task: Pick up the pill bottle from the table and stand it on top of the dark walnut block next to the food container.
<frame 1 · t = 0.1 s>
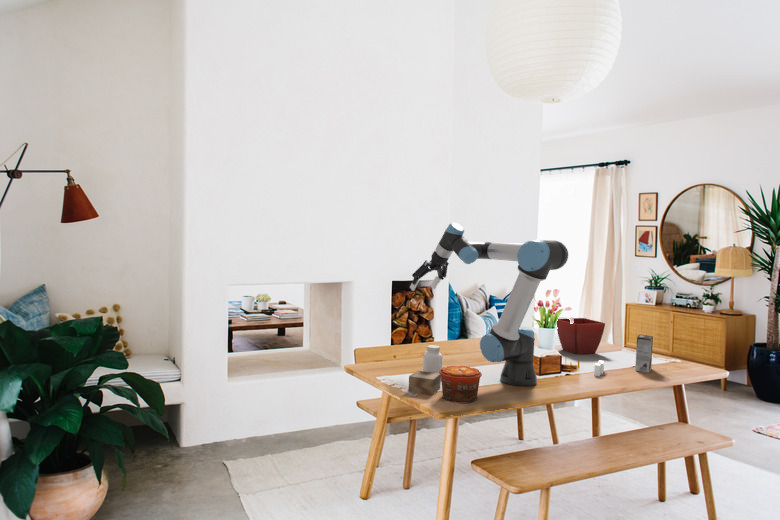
hand: (422, 288, 265), 36 cm above the table, tool tilted 35°, fingers open, 13 cm apart
food container: (459, 398, 212), on the table
walnut block: (424, 389, 222), on the table
plant pot: (578, 351, 305), on the table
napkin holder: (597, 374, 257), on the table
pill bottle: (432, 382, 234), on the table
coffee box: (643, 370, 266), on the table
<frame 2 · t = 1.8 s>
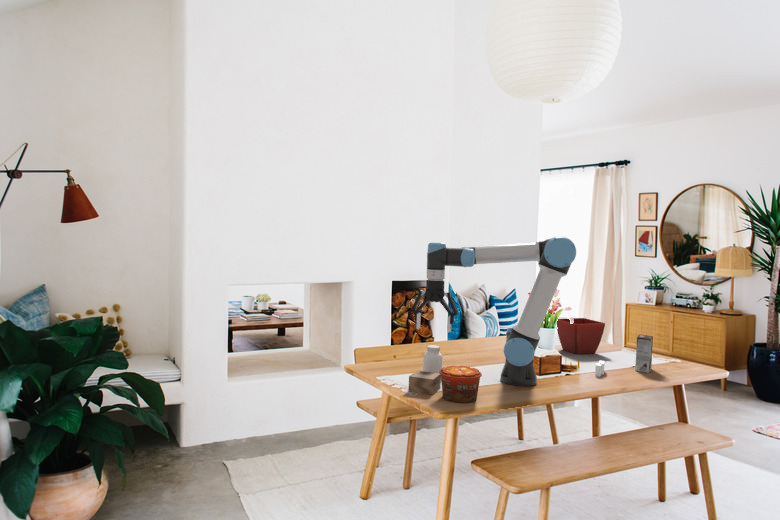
hand: (433, 330, 233), 22 cm above the table, tool pointing down, fingers open, 13 cm apart
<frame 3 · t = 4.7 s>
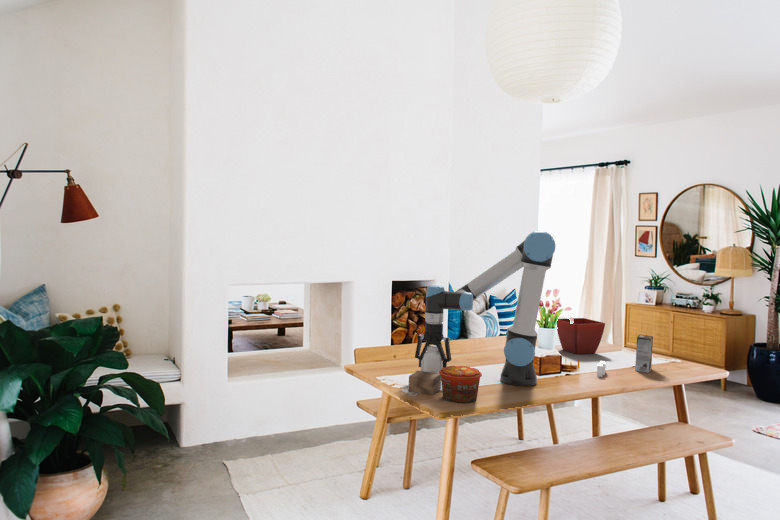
hand: (432, 376, 234), 2 cm above the table, tool pointing down, fingers closed on pill bottle, 8 cm apart
pill bottle: (432, 382, 234), on the table, touching gripper
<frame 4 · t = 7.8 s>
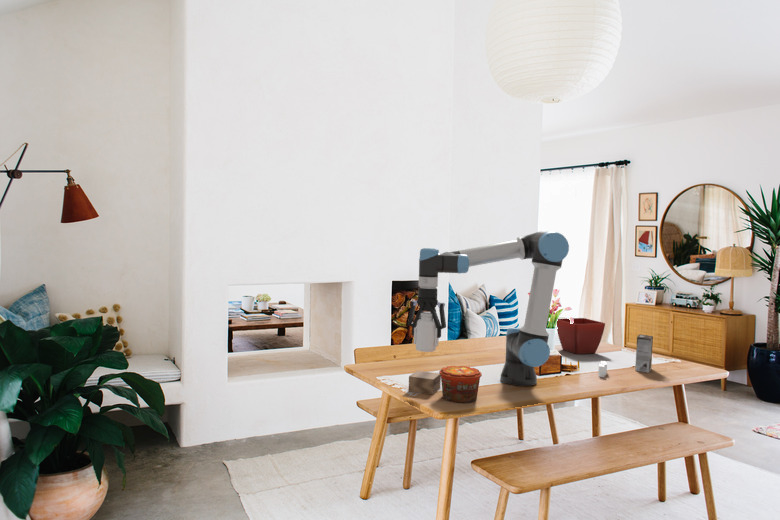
hand: (426, 344, 221), 18 cm above the table, tool pointing down, fingers closed on pill bottle, 8 cm apart
pill bottle: (425, 350, 221), point 16 cm above the table, touching gripper
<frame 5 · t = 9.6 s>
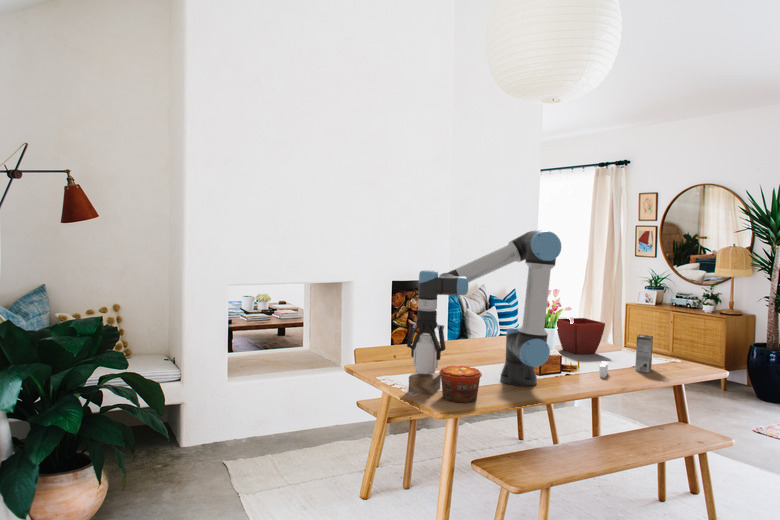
hand: (425, 366, 221), 9 cm above the table, tool pointing down, fingers closed on pill bottle, 8 cm apart
pill bottle: (425, 372, 221), point 7 cm above the table, touching gripper
when the fingers open (9 cm above the table, at t = 11.0 s): pill bottle stays where it is, resting on walnut block.
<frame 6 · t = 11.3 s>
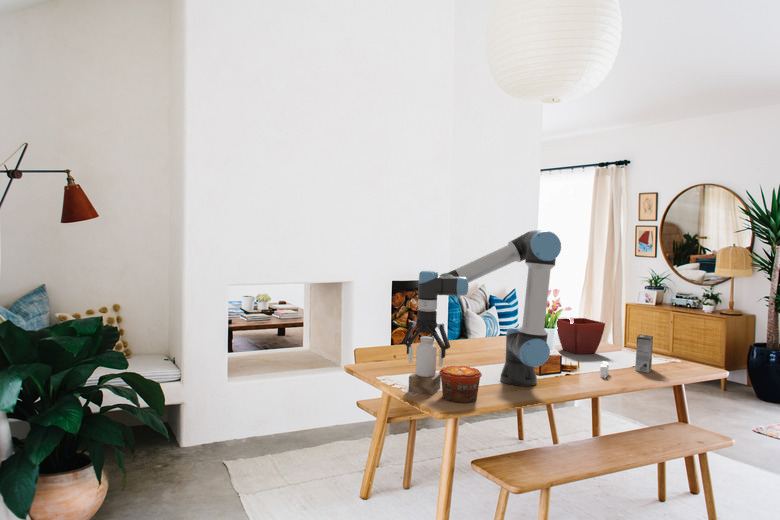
hand: (425, 364, 221), 10 cm above the table, tool pointing down, fingers open, 12 cm apart
pill bottle: (425, 375, 221), point 6 cm above the table, touching walnut block
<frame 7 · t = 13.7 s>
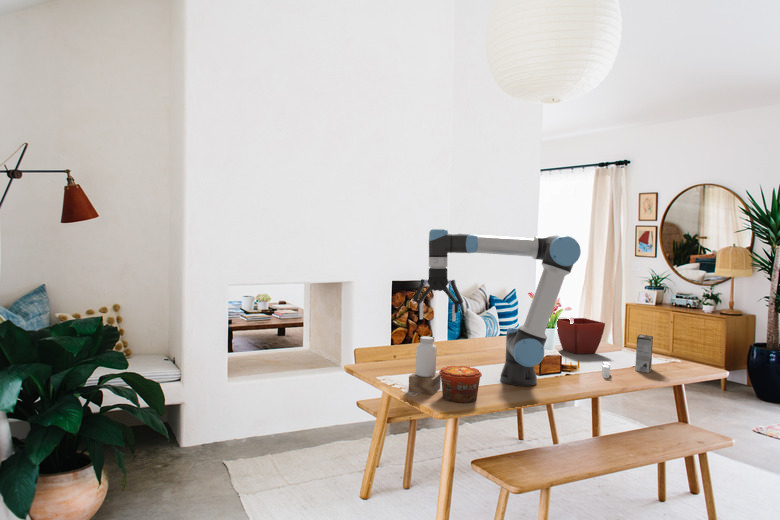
hand: (437, 320, 225), 27 cm above the table, tool pointing down, fingers open, 13 cm apart
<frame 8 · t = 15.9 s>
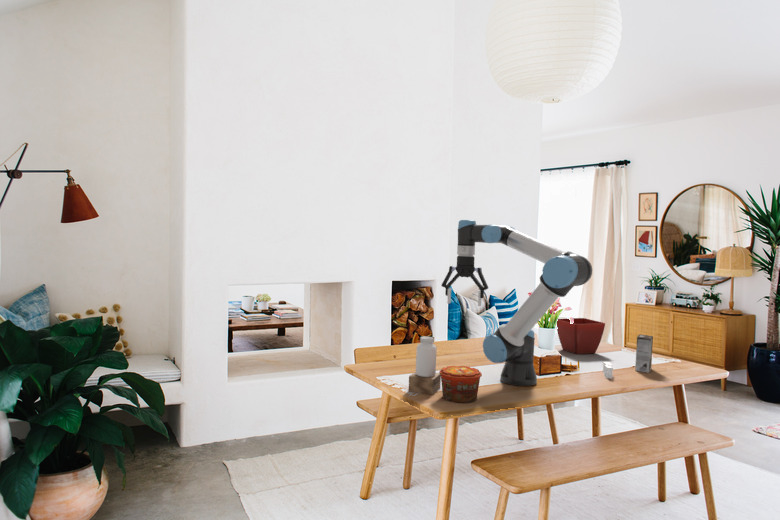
hand: (464, 304, 242), 32 cm above the table, tool pointing down, fingers open, 13 cm apart
at the end: pill bottle inside the target area on the walnut block (0.2 cm from its centre), point 5.8 cm above the walnut block's base; pill bottle tilted 0°; the gripper is holding nothing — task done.
